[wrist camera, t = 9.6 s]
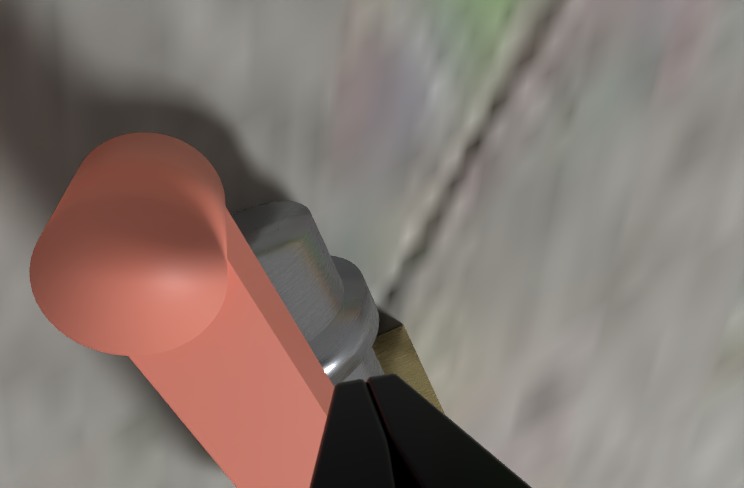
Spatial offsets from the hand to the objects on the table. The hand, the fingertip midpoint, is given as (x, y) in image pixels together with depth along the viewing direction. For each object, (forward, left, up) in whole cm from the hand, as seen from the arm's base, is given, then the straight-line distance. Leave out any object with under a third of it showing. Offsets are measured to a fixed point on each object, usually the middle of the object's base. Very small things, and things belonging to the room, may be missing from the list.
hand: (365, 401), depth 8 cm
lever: (-2, -5, -5) cm, 7 cm away
